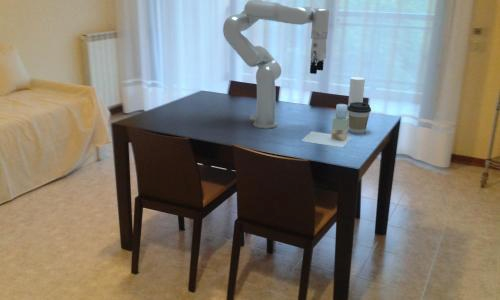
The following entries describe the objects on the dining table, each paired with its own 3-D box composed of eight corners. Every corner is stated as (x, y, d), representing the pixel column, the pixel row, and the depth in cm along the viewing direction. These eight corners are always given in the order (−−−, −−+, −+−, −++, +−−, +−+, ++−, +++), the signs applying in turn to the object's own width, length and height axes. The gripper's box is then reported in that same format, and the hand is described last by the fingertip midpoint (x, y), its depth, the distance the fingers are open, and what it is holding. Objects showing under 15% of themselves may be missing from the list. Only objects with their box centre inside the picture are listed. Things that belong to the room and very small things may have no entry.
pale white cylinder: (334, 118, 224) (335, 105, 222) (337, 115, 228) (338, 103, 226) (344, 119, 222) (345, 107, 220) (347, 117, 226) (348, 104, 224)
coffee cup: (369, 138, 234) (372, 108, 228) (345, 136, 235) (347, 106, 230) (368, 131, 244) (371, 102, 239) (345, 129, 246) (347, 101, 241)
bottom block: (331, 139, 227) (332, 128, 225) (334, 135, 232) (335, 125, 230) (343, 140, 225) (344, 130, 223) (347, 137, 230) (348, 127, 228)
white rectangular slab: (300, 143, 225) (300, 140, 224) (311, 134, 238) (311, 131, 238) (342, 150, 217) (343, 147, 216) (351, 140, 230) (351, 137, 230)
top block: (332, 128, 225) (332, 118, 224) (335, 125, 230) (336, 115, 229) (344, 130, 223) (345, 120, 221) (348, 127, 228) (348, 117, 226)
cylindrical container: (351, 122, 258) (355, 76, 249) (363, 125, 253) (367, 78, 244) (343, 125, 253) (347, 78, 244) (355, 128, 248) (359, 80, 239)
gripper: (321, 38, 218) (318, 75, 224) (332, 34, 232) (329, 69, 238) (305, 36, 221) (303, 74, 227) (317, 33, 235) (314, 68, 241)
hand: (316, 71), depth 232 cm, fingers open, 9 cm apart
